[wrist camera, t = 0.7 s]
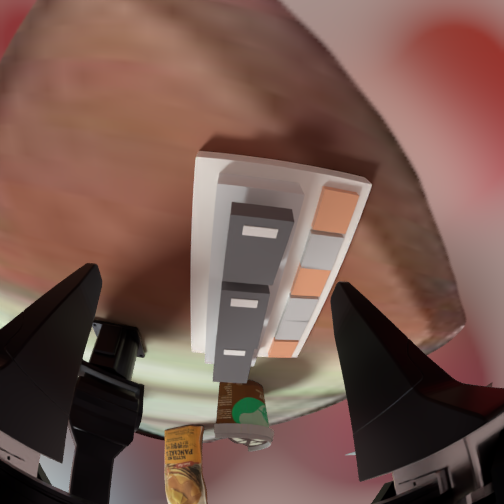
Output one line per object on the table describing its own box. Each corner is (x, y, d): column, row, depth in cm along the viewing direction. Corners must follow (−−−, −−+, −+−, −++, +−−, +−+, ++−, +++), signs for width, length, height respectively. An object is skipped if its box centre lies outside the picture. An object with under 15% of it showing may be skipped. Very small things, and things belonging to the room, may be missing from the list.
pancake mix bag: (220, 428, 55) (221, 531, 33) (176, 436, 62) (172, 521, 40) (198, 421, 52) (196, 531, 30) (156, 430, 59) (149, 519, 37)
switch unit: (295, 347, 34) (299, 374, 30) (192, 341, 32) (189, 369, 29) (364, 177, 20) (386, 199, 17) (198, 150, 19) (189, 168, 15)
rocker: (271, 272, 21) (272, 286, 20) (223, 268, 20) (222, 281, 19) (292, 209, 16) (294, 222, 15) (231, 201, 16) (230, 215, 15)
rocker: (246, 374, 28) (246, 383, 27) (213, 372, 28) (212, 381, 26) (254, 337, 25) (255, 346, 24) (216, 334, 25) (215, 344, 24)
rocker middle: (256, 339, 24) (257, 349, 23) (216, 337, 23) (216, 347, 22) (268, 285, 21) (270, 294, 20) (221, 280, 21) (221, 290, 20)
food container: (279, 396, 43) (285, 447, 35) (247, 402, 45) (249, 452, 37) (253, 367, 36) (257, 432, 28) (215, 375, 38) (213, 437, 30)
